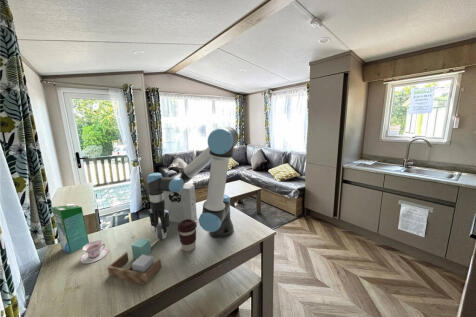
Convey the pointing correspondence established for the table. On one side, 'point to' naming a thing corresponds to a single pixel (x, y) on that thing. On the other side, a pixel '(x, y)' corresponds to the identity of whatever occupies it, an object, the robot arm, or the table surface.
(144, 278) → the wooden tray
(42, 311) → the table surface
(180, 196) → the cereal box
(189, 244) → the coffee cup
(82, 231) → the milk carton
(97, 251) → the teacup
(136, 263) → the slate block
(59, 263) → the table surface
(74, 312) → the table surface
